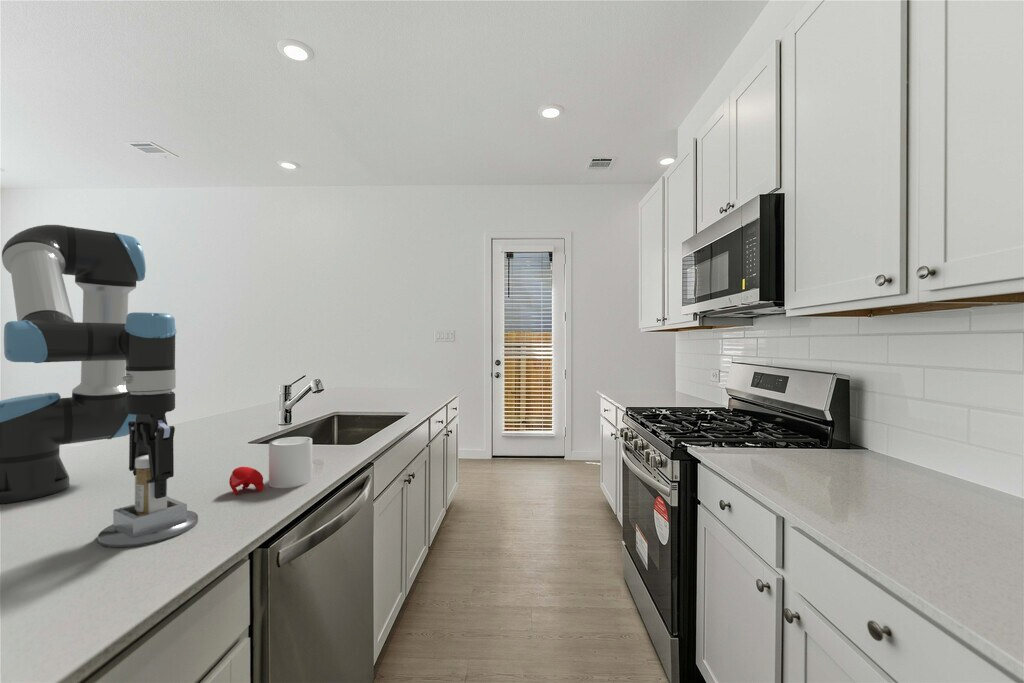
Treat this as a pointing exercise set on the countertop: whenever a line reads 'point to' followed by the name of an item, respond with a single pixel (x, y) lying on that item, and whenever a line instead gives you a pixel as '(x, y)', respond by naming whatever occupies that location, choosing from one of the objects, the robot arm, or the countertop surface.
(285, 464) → the mug
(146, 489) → the sprinkles bottle
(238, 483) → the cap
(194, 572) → the countertop surface
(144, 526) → the square hole disc
